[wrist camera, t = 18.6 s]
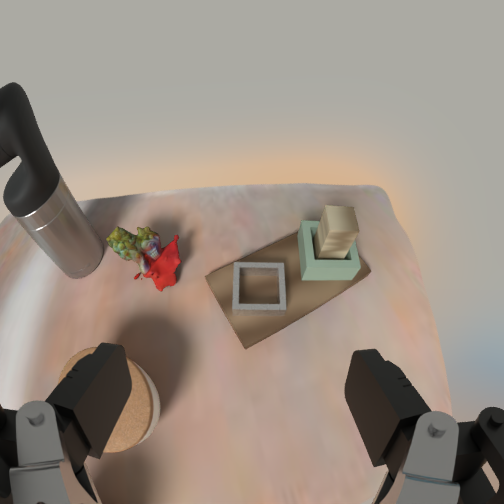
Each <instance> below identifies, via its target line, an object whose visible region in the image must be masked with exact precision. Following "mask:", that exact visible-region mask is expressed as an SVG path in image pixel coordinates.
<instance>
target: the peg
mask: <svg viewBox="0 0 504 504" xmlns="http://www.w3.org/2000/svg"><path fill="white" fill-rule="evenodd" d="M358 233H359V227H358V223H357V219H356V215H355V211H354V207H345V206H331V205H325V208H324V211H323V214H322V216H321V219H320V222H319V225H318V228H317V231H316V233H315V236H314V239H313V242H312V244H313V251H314V259H315V260H344V258H345V256H346V254H347V253H348V251H349V249H350V247H351V246H352V244H353V242H354V240H355V238H356V237H357V235H358Z"/></svg>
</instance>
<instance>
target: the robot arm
mask: <svg viewBox="0 0 504 504" xmlns="http://www.w3.org/2000/svg"><path fill="white" fill-rule="evenodd" d="M16 156H19V157H20V158H21V160H22V162H21V163H20V165H19V166H18V168H17V169H16V170H15V172H14V173H13V174H12V176H11V177H10V179H9V181H8V182H7V184H6V187H5V190H4V196H3V199H4V203H5V205H6V207H7V208H8V210H9V211H10V212H11V213H12V215H13V216H14V217H15V218H16V219H17V221H18V222H19V223H20V224H21V226H22V227H23V228H24V229H25V230H26V231H27V233H28V234H29V235H30V236H31V237H32V239H33V240H34V241H35V242H36V243H37V244H38V245H39V246H40V248H41V249H42V250H43V251H44V252H45V253H46V254H47V255H48V256H49V257H50V258H51V260H52V261H53V262H54V263H55V264H56V265H57V266H58V267H59V268H60V269H61V270H62V271H63V272H64V273H65V274H66V275H67V276H69V277H71V278H76V279H77V278H82V277H85V276H87V275H88V274H90V273H91V272H92V271H93V270H95V268H96V267H97V266H98V264H99V263H100V261H101V258H102V255H103V244H102V242H101V240H100V239H99V237H98V236H97V234H96V233H95V231H94V229H93V228H92V226H91V225H90V223H89V222H88V220H87V218H86V217H85V215H84V214H83V212H82V210H81V209H80V207H79V205H78V204H77V202H76V201H75V199H74V197H73V196H72V194H71V192H70V190H69V189H68V187H67V186H66V184H65V182H64V180H63V178H62V176H61V175H60V173H59V171H58V169H57V167H56V166H55V163H54V161H53V159H52V157H51V154H50V152H49V150H48V148H47V146H46V144H45V142H44V140H43V137H42V135H41V132H40V130H39V127H38V125H37V122H36V119H35V116H34V113H33V110H32V107H31V105H30V102H29V100H28V97H27V95H26V93H25V91H24V90H23V88H22V87H21V86H20V85H19V84H17V83H14V82H12V83H9V84H7V85H5V86H4V87H2V88H1V89H0V168H1V167H2V166H3V165H5V164H6V163H8V162H9V161H11V160H12V159H13V158H15V157H16ZM71 369H72V370H70V371H69V372H68V373H67V374H66V377H64V378H63V379H62V381H61V382H60V383H59V384H58V385H57V387H56V388H55V389H54V390H53V392H52V393H51V394H50V395H49V397H48V398H47V399H46V400H45V402H44V401H31V402H28V403H26V404H24V405H23V406H22V407H21V408H20V409H19V410H18V411H16V410H9V409H3V408H2V406H1V405H0V504H102V502H101V500H100V498H99V496H98V493H97V491H96V488H95V486H94V483H93V481H92V478H91V475H90V473H89V470H88V467H87V465H86V463H85V459H86V457H87V455H89V456H92V457H95V458H98V459H100V458H101V455H102V453H103V451H104V449H105V447H106V444H107V442H108V440H109V438H110V436H111V434H112V432H113V429H114V427H115V425H116V423H117V421H118V419H119V417H120V415H121V413H122V411H123V409H124V407H125V405H126V403H127V401H128V399H129V397H130V394H131V390H132V379H131V375H130V371H129V367H128V363H127V359H126V354H125V350H124V348H123V346H122V345H117V344H110V343H101V344H100V345H99V346H98V347H97V348H96V350H95V351H94V352H93V353H92V354H88V355H86V356H84V357H83V358H81V359H79V360H78V361H77V362H76V364H75V365H74V366H73V367H72V368H71ZM345 398H346V402H347V404H348V406H349V409H350V411H351V413H352V416H353V418H354V420H355V423H356V425H357V427H358V430H359V432H360V435H361V437H362V439H363V442H364V444H365V447H366V449H367V452H368V454H369V457H370V459H371V462H372V464H373V466H374V467H377V466H381V465H384V464H386V465H387V467H388V471H387V472H386V474H385V476H384V478H383V481H382V483H381V485H380V487H379V490H378V492H377V494H376V496H375V498H374V500H373V502H372V504H504V410H502V409H500V408H497V407H488V408H485V409H484V410H483V411H481V413H480V414H479V416H478V418H477V419H476V421H471V422H460V423H456V421H455V419H454V418H453V417H451V416H450V415H448V414H446V413H444V412H439V411H431V410H430V408H429V407H428V405H427V404H426V403H425V401H424V400H423V399H422V397H421V396H420V394H419V393H418V392H417V390H416V389H415V388H414V386H412V384H411V382H410V381H409V380H408V378H407V379H406V376H405V374H404V373H403V372H402V370H401V369H400V368H399V367H398V366H396V365H395V364H393V363H392V362H390V361H389V360H388V361H385V360H384V359H383V358H382V356H381V355H380V353H379V352H378V351H377V350H376V349H367V350H357V351H354V353H353V355H352V359H351V363H350V367H349V371H348V375H347V379H346V383H345ZM487 461H488V463H489V465H490V466H491V468H492V470H493V471H494V473H495V475H496V476H497V478H498V480H499V489H498V491H497V493H495V491H494V489H493V487H492V486H491V483H490V482H489V480H488V478H487V476H486V475H485V473H484V471H483V469H482V468H481V467H482V466H483V465H484V464H485V463H486V462H487Z"/></svg>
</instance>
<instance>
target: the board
mask: <svg viewBox="0 0 504 504" xmlns="http://www.w3.org/2000/svg"><path fill="white" fill-rule="evenodd" d="M297 235H298V232H297V233H295V234H293V235H291V236H289V237H287V238H285V239H282V240H280V241H278V242H276V243H274V244H272V245H270V246H268V247H266V248H264V249H261V250H259V251H257V252H255V253H253V254H251V255H249V256H247V257H245V258H242V259H240V260H238V261H236V262H258V263H284V274H285V292H286V312H285V314H284V316H233V312H232V301H233V273H234V263H232V264H230V265H228V266H226V267H224V268H221V269H219V270H217V271H215V272H213V273H211V274H209V275H207V276H205V278H206V281H207V283H208V285H209V287H210V288H211V290H212V292H213V294H214V296H215V298H216V299H217V301H218V303H219V305H220V307H221V308H222V310H223V312H224V314H225V315H226V317H227V319H228V321H229V323H230V324H231V326H232V328H233V329H234V331H235V333H236V335H237V336H238V338H239V340H240V342H241V343H242V345H243V347H244V348H245V349H247V348H249V347H251V346H253V345H254V344H256V343H258V342H260V341H262V340H264V339H265V338H267V337H269V336H271V335H273V334H274V333H276V332H278V331H280V330H281V329H283V328H285V327H287V326H288V325H290V324H292V323H293V322H295V321H297V320H299V319H300V318H302V317H304V316H305V315H307V314H309V313H310V312H312V311H314V310H315V309H317V308H318V307H320V306H322V305H323V304H325V303H326V302H328V301H330V300H331V299H333V298H334V297H336V296H338V295H339V294H341V293H342V292H344V291H345V290H347V289H348V288H350V287H351V286H353V285H354V284H356V283H357V282H359V281H360V280H362V279H363V278H365V277H366V276H368V275H369V273H370V272H371V270H370V269H369V267H368V266H367V265H366V264H365V262H364V261H363V260H362V259H361V257H360V256H359V255H358V256H359V261H360V266H361V268H360V269H359V271H358V272H357V274H356V275H355V276H354V278H353V279H352V280H302V279H301V268H300V257H299V247H298V237H297ZM239 304H278V299H277V276H243V275H240V283H239Z"/></svg>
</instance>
